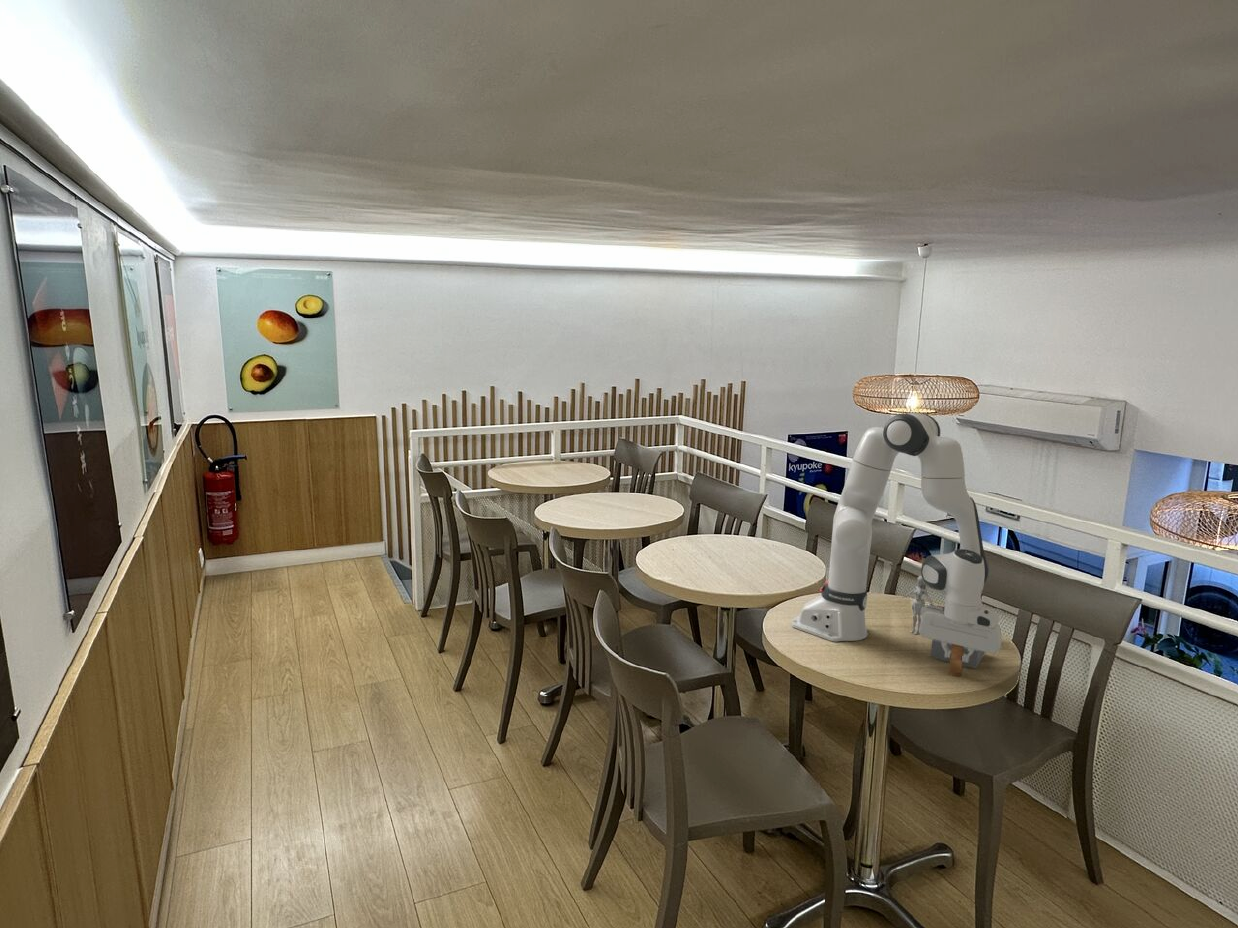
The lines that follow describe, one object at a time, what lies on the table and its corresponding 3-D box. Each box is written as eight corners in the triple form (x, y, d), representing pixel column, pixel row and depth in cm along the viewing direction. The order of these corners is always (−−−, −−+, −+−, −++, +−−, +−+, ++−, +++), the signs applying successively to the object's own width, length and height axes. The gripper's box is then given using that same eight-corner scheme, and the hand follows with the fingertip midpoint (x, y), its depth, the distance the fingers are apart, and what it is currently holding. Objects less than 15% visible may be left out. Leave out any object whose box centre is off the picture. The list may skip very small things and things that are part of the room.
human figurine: (896, 626, 238) (901, 571, 235) (904, 624, 240) (910, 569, 237) (928, 640, 228) (934, 583, 224) (936, 638, 229) (942, 581, 226)
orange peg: (947, 674, 206) (951, 642, 204) (950, 670, 208) (953, 639, 207) (959, 677, 204) (963, 645, 202) (961, 673, 207) (965, 642, 205)
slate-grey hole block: (930, 656, 216) (932, 640, 215) (940, 643, 226) (942, 627, 225) (975, 668, 210) (978, 651, 209) (984, 654, 219) (986, 637, 218)
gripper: (918, 605, 206) (913, 652, 209) (1001, 623, 195) (995, 674, 197) (924, 598, 211) (919, 645, 214) (1005, 616, 200) (999, 665, 202)
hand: (956, 659), depth 205 cm, fingers closed on orange peg, 3 cm apart
